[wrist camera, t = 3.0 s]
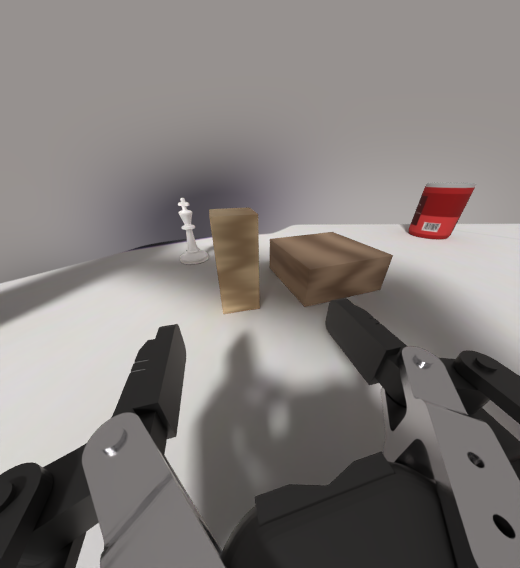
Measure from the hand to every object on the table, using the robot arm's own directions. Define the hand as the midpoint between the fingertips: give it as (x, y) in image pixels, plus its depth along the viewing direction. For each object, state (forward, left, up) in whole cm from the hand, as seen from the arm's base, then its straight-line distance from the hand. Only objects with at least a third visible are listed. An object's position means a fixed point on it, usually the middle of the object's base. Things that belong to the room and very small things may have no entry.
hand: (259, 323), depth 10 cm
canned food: (+48, +27, -6) cm, 55 cm away
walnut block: (+12, +14, -6) cm, 19 cm away
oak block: (0, +11, -6) cm, 12 cm away
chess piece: (-6, +26, -6) cm, 27 cm away
